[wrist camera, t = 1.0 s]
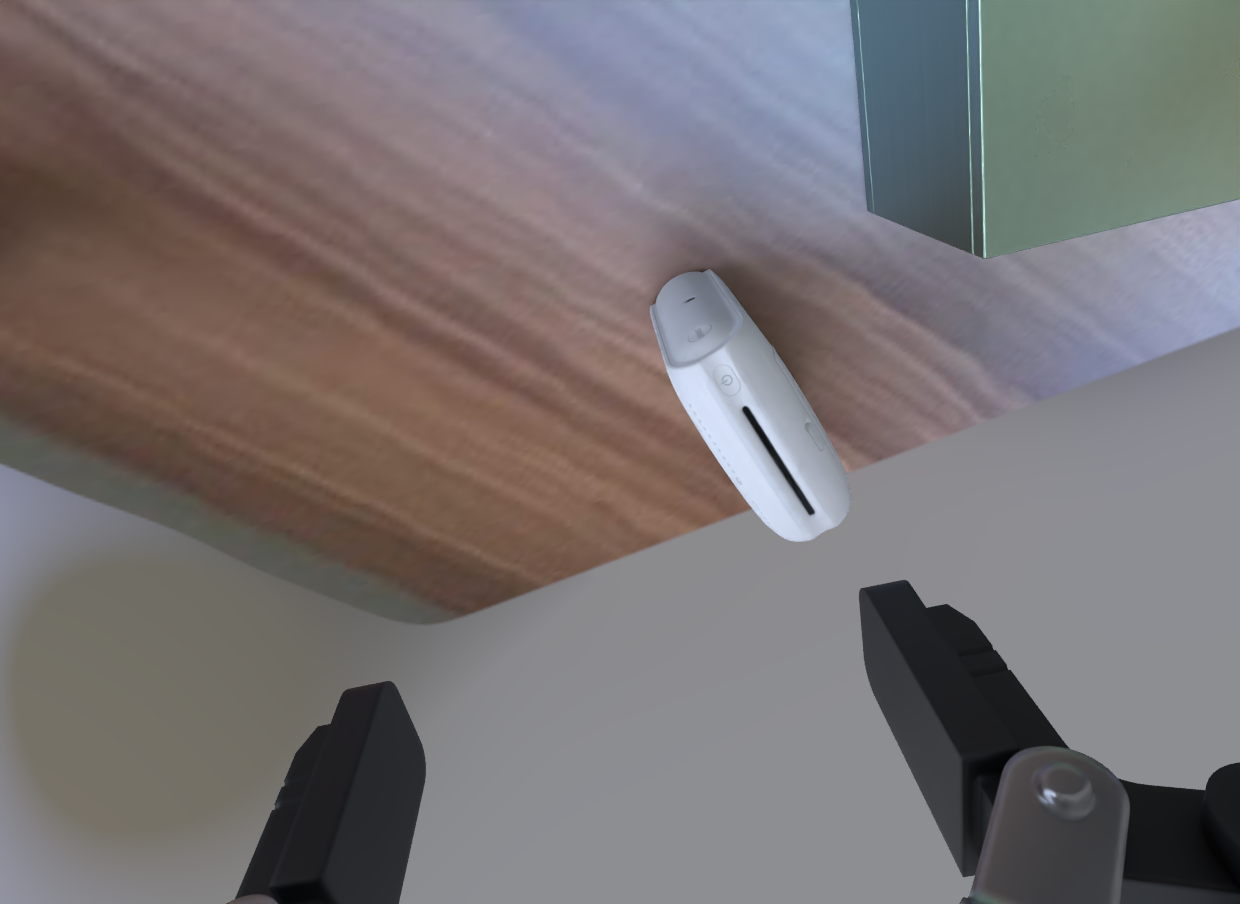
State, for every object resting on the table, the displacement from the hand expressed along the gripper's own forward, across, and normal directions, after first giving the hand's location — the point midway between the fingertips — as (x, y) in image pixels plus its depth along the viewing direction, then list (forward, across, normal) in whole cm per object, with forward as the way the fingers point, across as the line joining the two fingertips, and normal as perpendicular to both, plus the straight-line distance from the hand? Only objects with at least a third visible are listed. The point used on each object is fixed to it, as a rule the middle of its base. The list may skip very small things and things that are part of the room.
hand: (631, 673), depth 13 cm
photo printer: (+28, -6, +5) cm, 29 cm away
